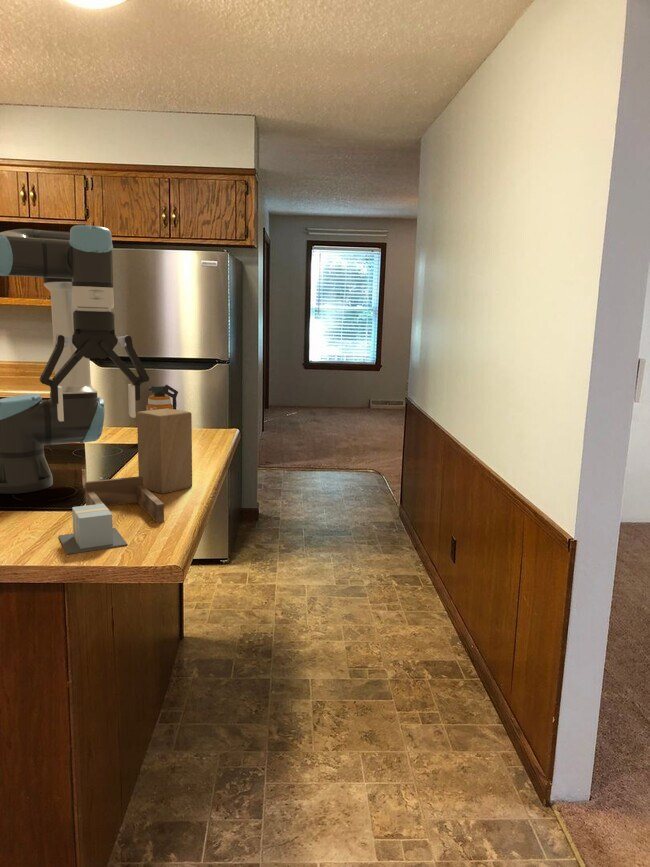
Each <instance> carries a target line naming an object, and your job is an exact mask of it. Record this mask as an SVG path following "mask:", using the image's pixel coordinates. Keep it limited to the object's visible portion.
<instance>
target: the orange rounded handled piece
mask: <svg viewBox="0 0 650 867" xmlns="http://www.w3.org/2000/svg"><path fill="white" fill-rule="evenodd" d="M148 391H150V392H152V393H151V394H152V395H150V396H148V399H147V404H146V411H148V410H157V409H167V408H169V409H175V410H177V407H178V405H177V396H178V394H179V390H176V389H174V388H173V387H172V386H169V385H168V384H165V385H151V386H150V387H148ZM170 391H171V392H170ZM171 398H172V401H171Z"/></svg>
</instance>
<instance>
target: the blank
mask: <svg viewBox="0 0 650 867" xmlns="http://www.w3.org/2000/svg"><path fill="white" fill-rule="evenodd" d="M71 509H72V510H71V512H72V531H73V536H74V538H75V540H76V542H77V544H78V545H79V547H80V549H83V548H90V547H97V546H104V545H110V544H113V528H114V527H113V526H114V525H113V524H114V523H113V514H112V512H111V511H110V509H109V508H108V506H105V505H104V504H96V505H87V506H86V505H80V506H73V507H71Z"/></svg>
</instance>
